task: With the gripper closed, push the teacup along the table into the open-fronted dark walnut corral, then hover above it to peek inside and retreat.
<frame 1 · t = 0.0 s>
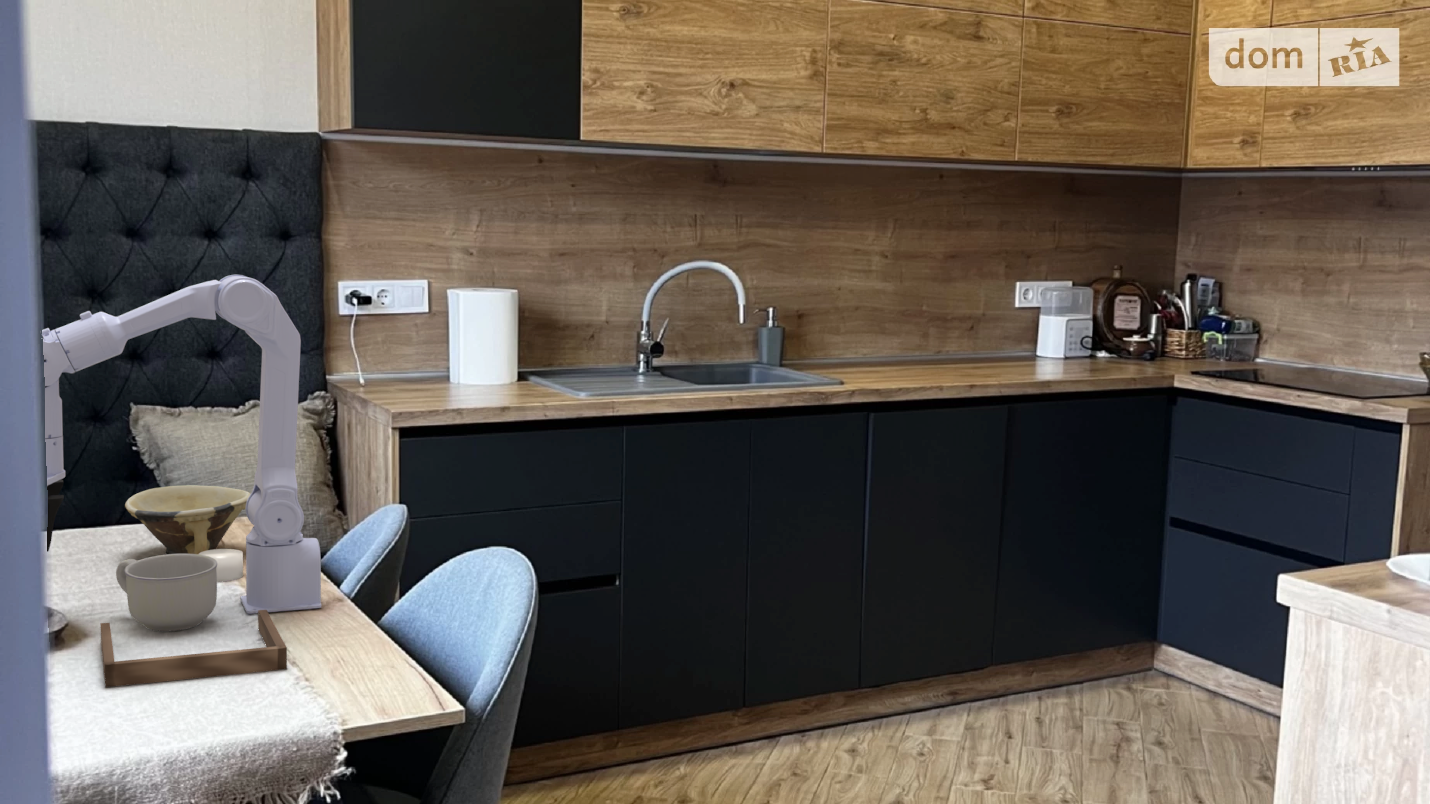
hand: (39, 544, 168), 10 cm above the table, fingers open, 7 cm apart
bowl: (190, 557, 207), on the table
corral: (191, 656, 159), on the table
teacup: (164, 624, 172), on the table
white frosted puck: (220, 577, 196), on the table
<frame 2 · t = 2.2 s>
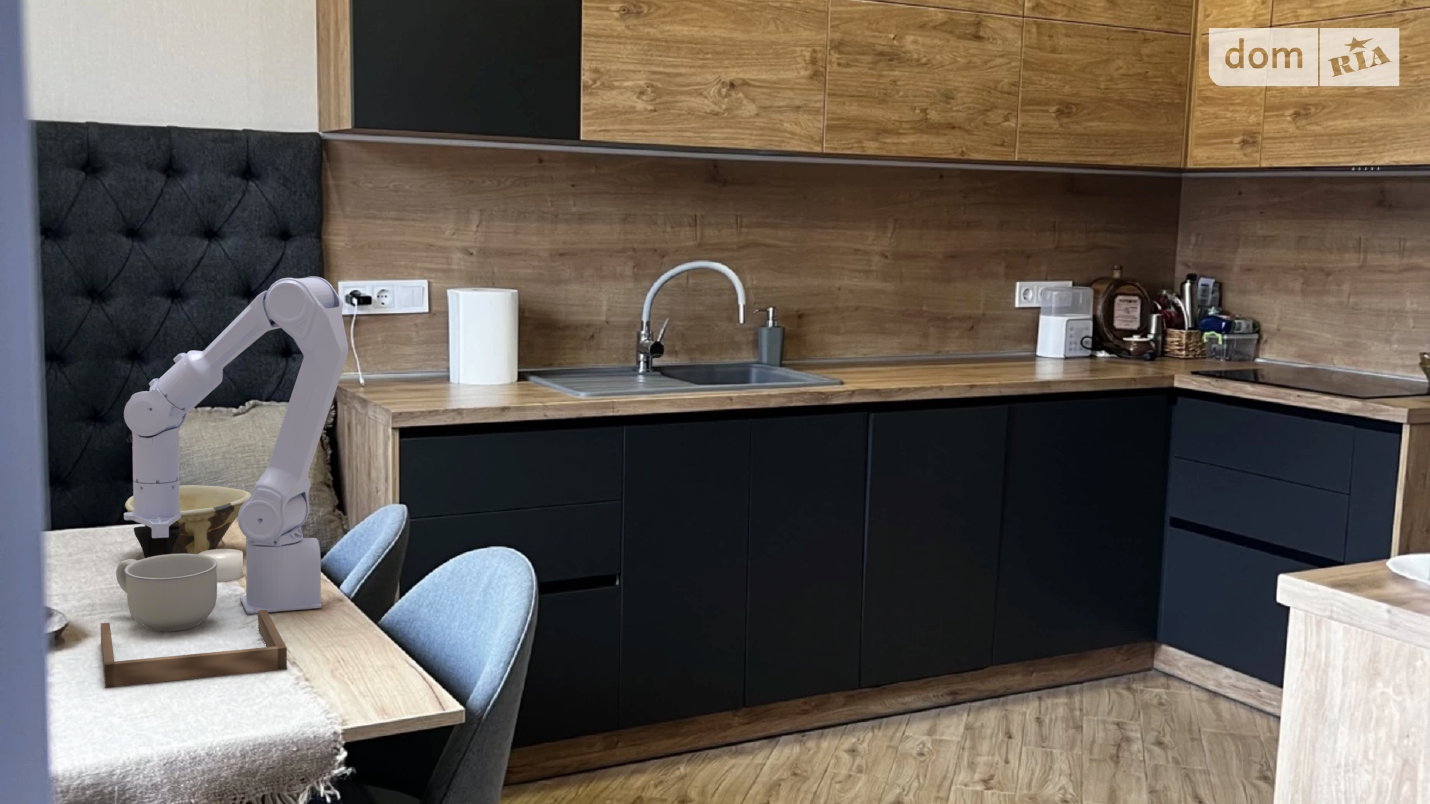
hand: (157, 579, 182), 3 cm above the table, fingers closed
nothing on the table moved.
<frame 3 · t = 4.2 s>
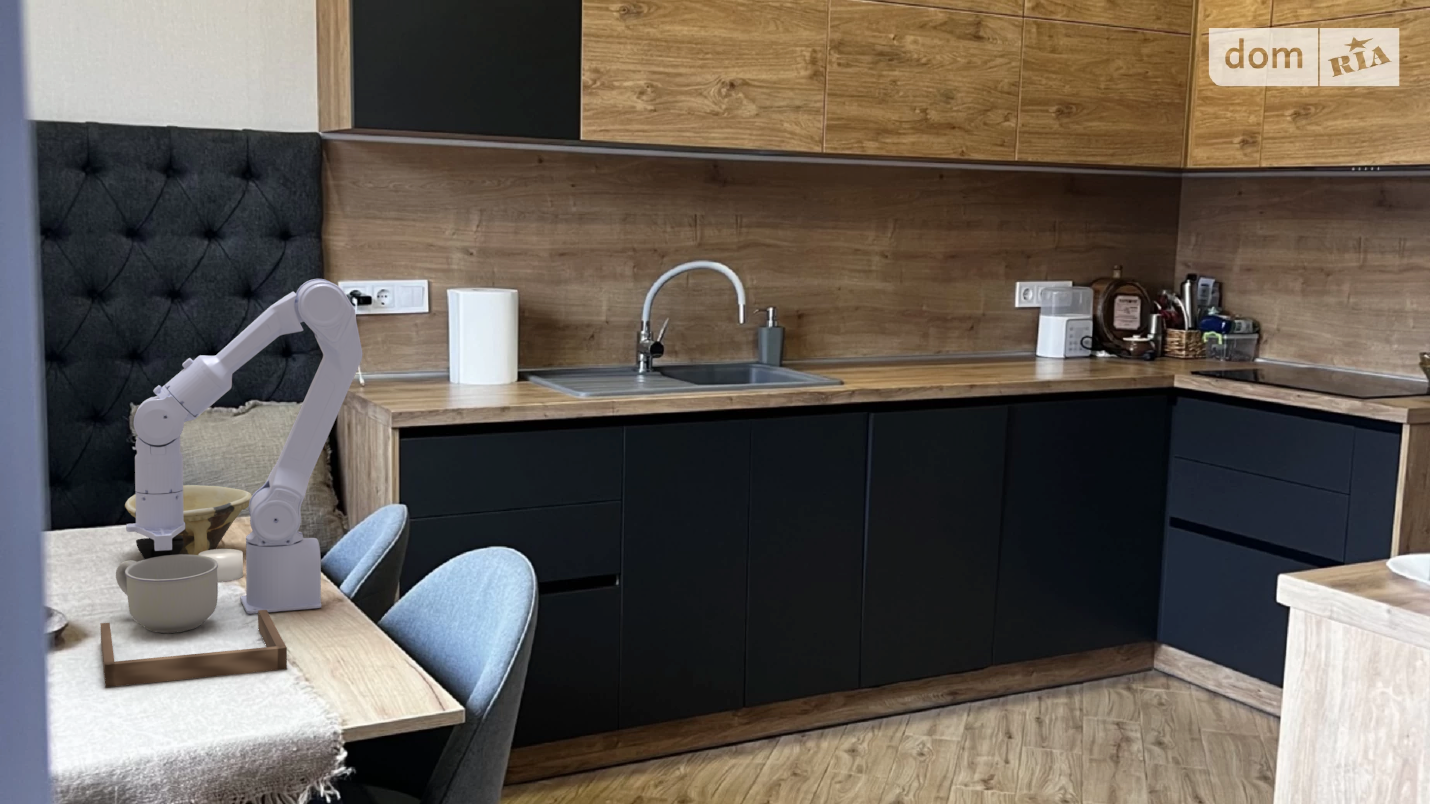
hand: (160, 593, 176), 2 cm above the table, fingers closed
teacup: (164, 625, 171), on the table, touching gripper
everything else where it was.
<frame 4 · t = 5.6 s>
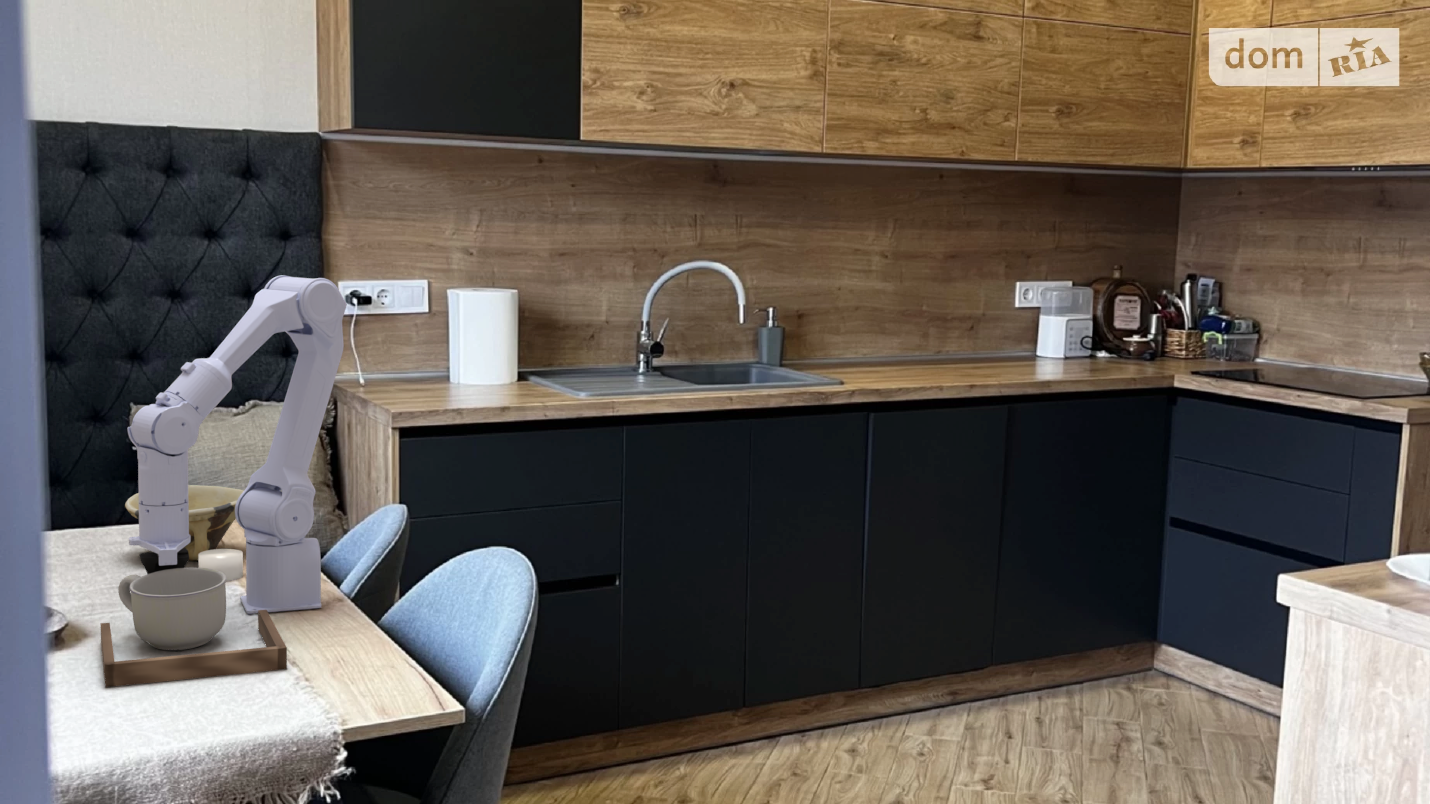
hand: (164, 609, 169), 2 cm above the table, fingers closed
teacup: (171, 642, 164), on the table, touching gripper
everything else where it was.
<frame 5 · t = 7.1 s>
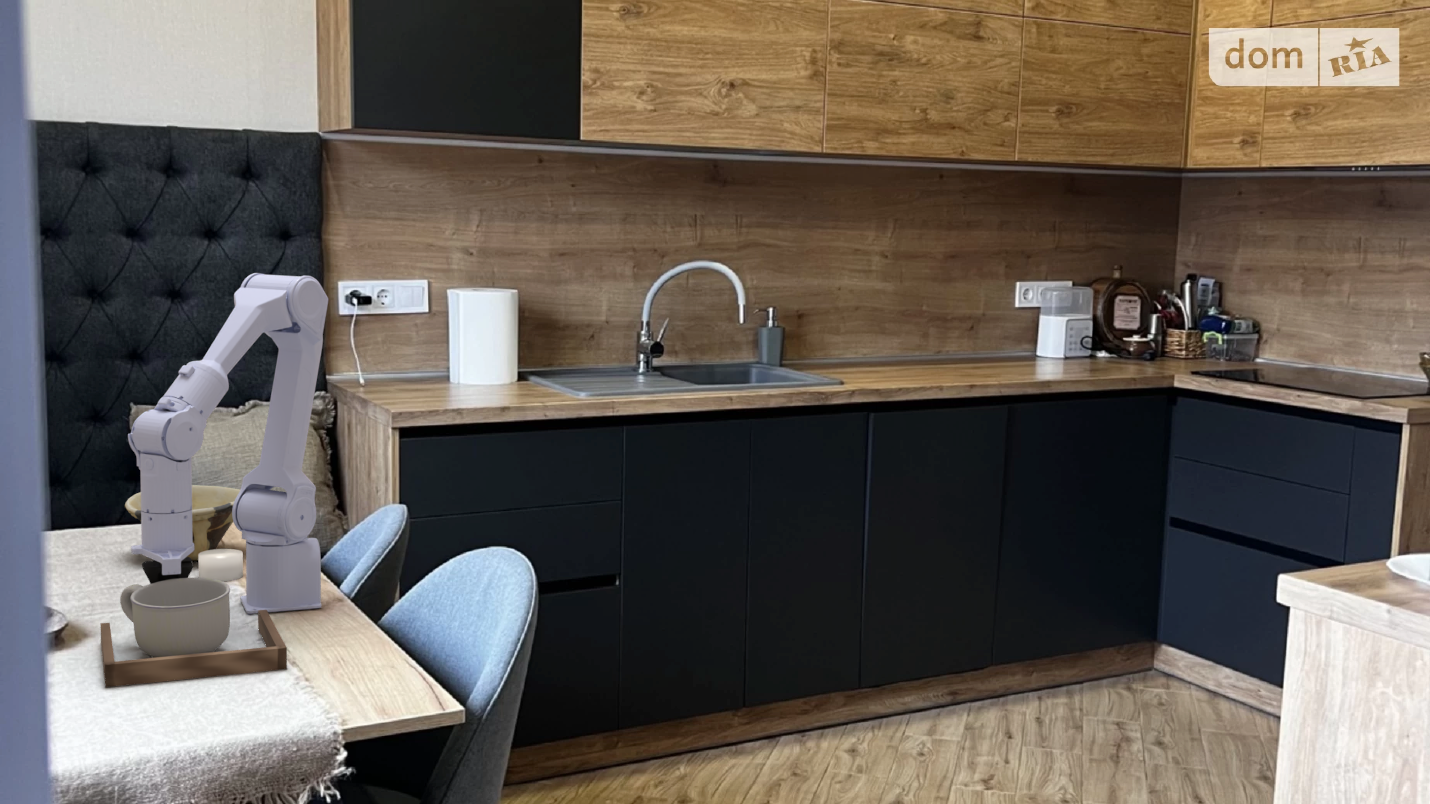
hand: (168, 619, 165), 2 cm above the table, fingers closed
teacup: (173, 654, 160), on the table, touching gripper
everything else where it was.
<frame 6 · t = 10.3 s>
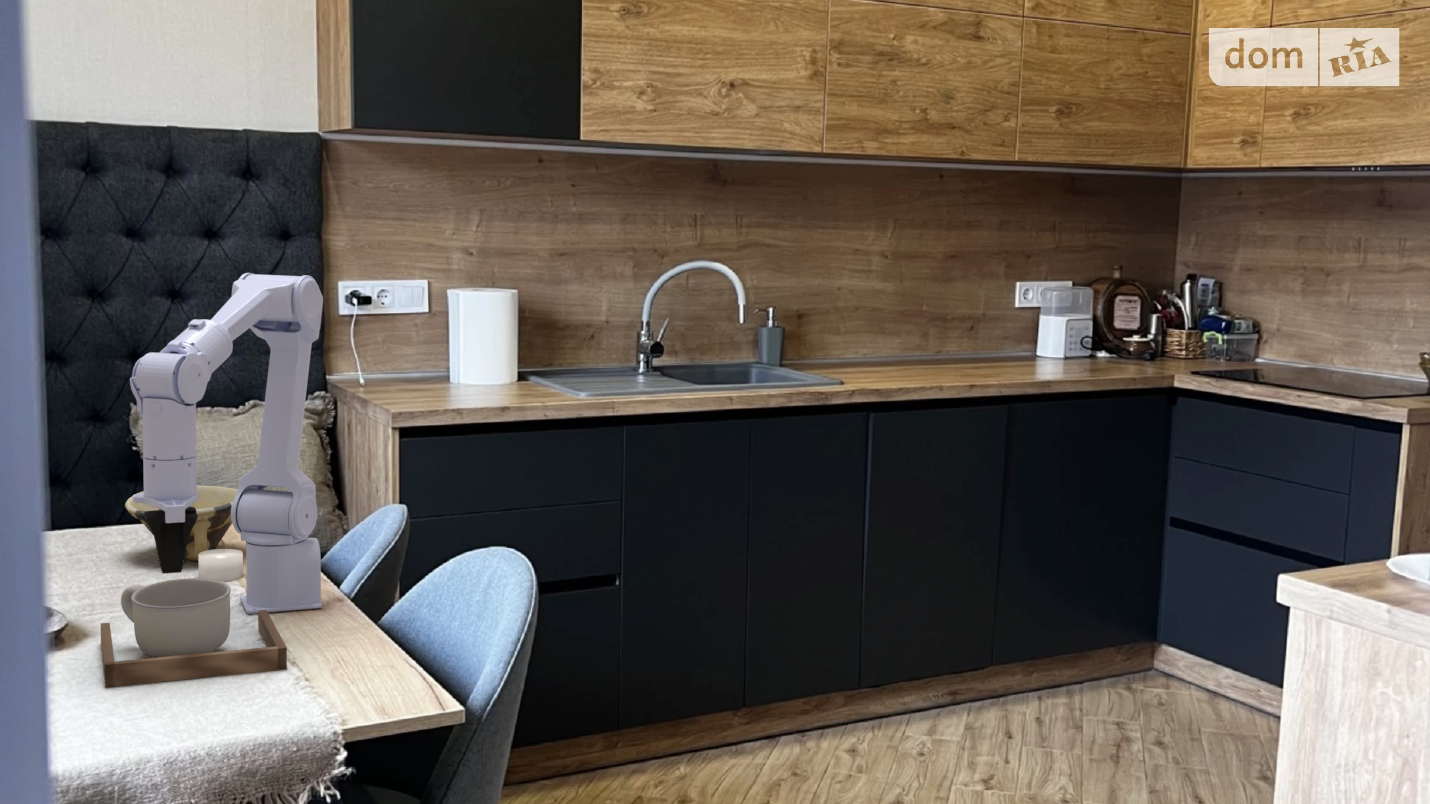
hand: (171, 571, 158), 10 cm above the table, fingers closed
teacup: (173, 655, 160), on the table
everything else where it was.
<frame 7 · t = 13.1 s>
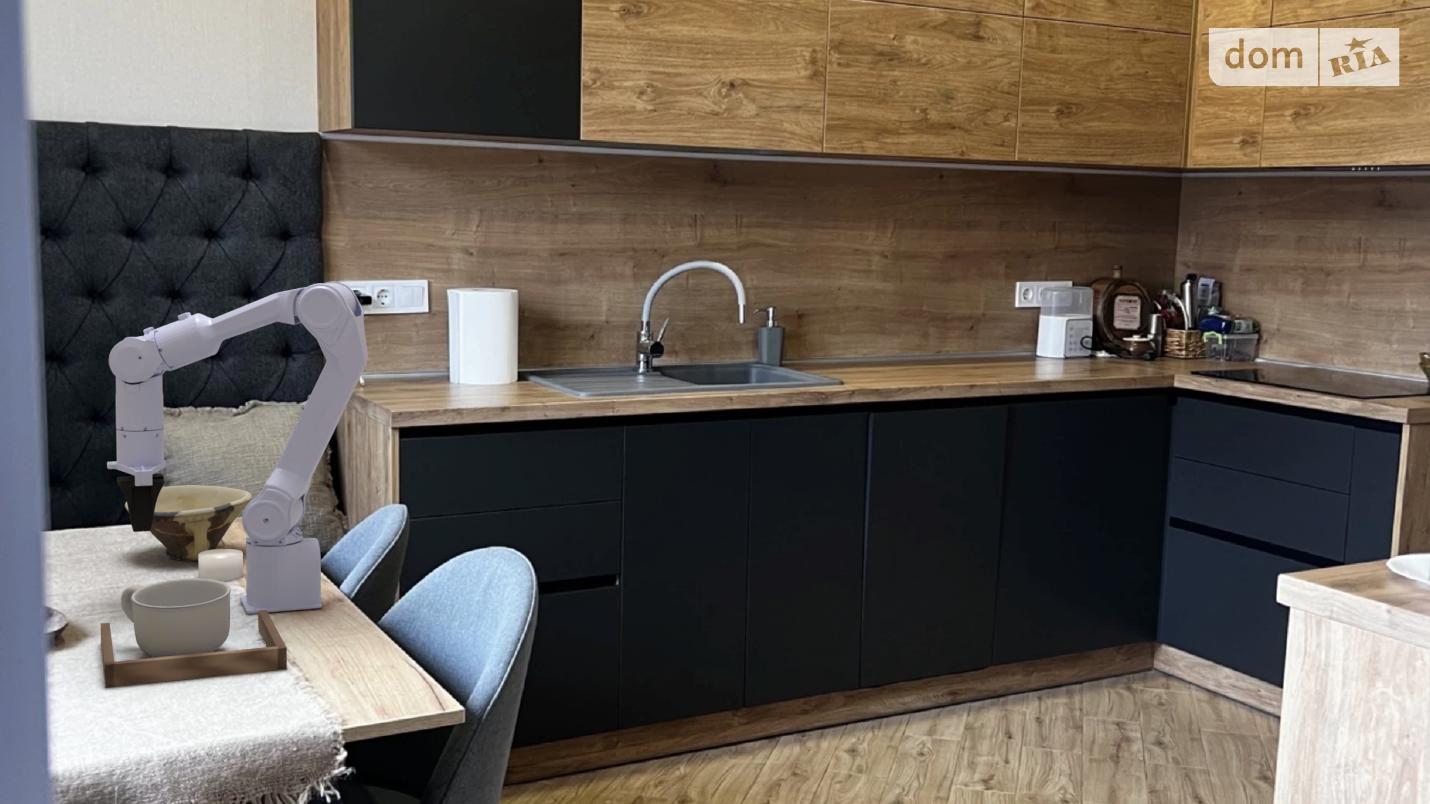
hand: (141, 530, 179), 10 cm above the table, fingers closed
nothing on the table moved.
at the end: teacup inside the target area (2.7 cm from its centre), on the table; teacup tilted 0°; teacup moved 13.6 cm from its start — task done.
